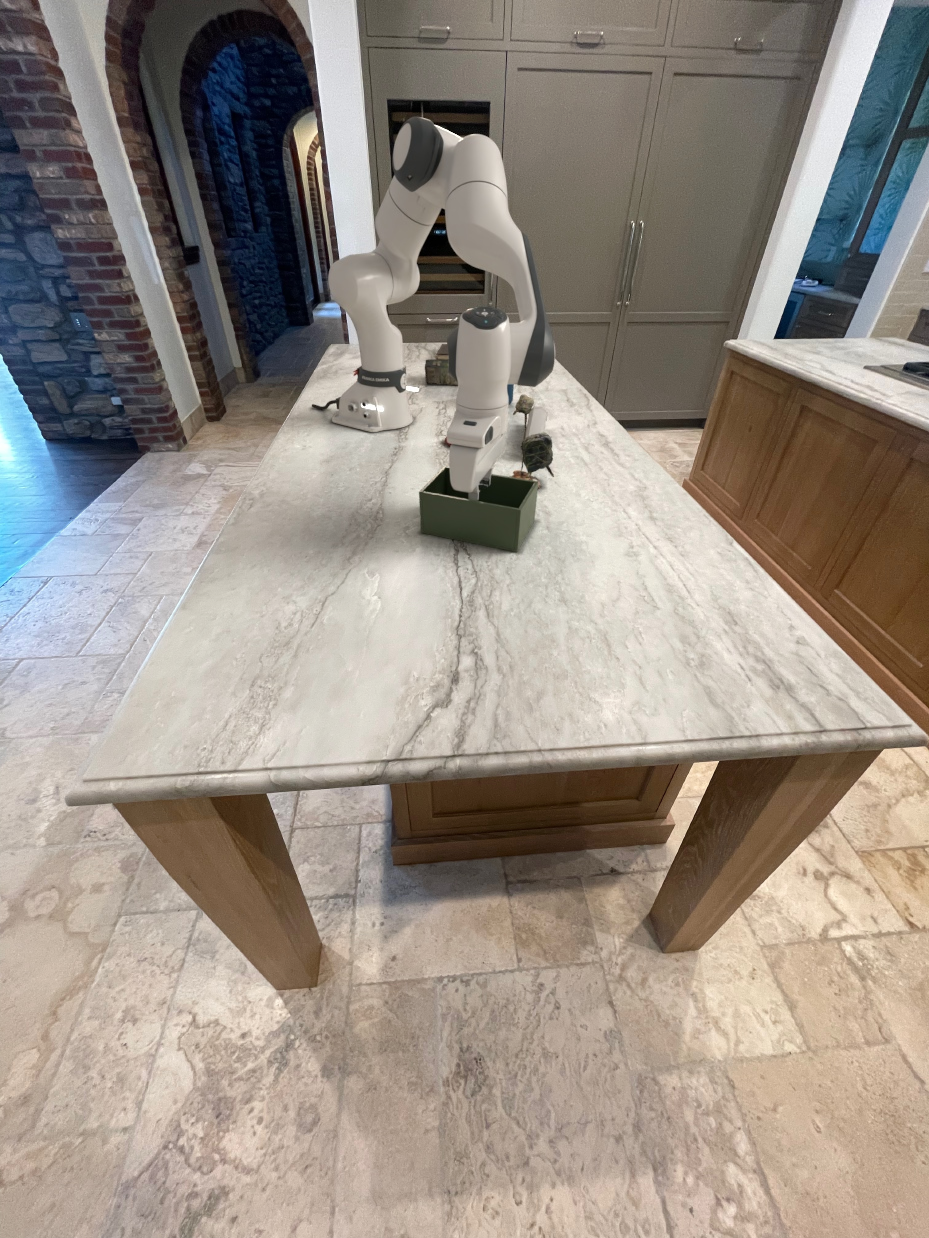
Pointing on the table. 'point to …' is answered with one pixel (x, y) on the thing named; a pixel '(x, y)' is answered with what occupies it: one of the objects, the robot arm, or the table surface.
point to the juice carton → (438, 372)
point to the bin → (479, 511)
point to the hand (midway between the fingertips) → (479, 493)
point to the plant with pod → (533, 446)
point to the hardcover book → (443, 352)
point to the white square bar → (536, 421)
